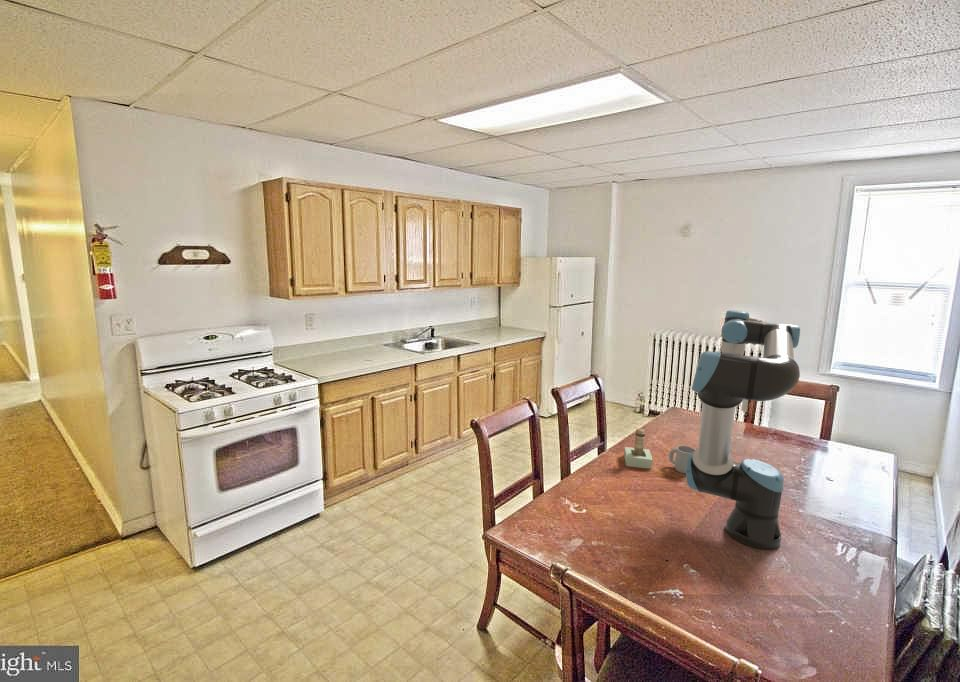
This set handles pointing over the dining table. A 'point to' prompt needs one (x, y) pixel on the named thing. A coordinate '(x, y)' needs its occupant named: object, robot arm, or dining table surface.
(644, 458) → the square block with hole
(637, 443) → the striped wooden dowel
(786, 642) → the dining table surface
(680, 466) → the cup
